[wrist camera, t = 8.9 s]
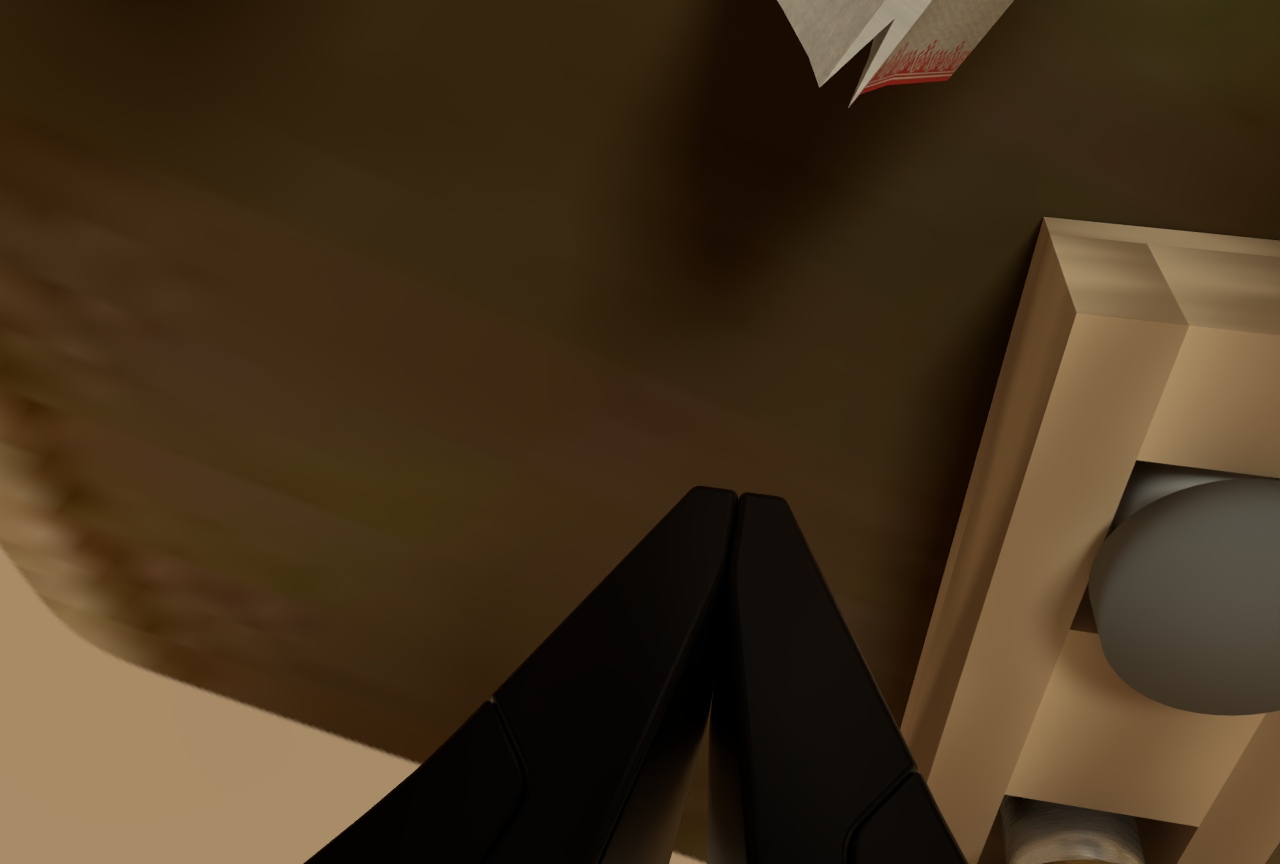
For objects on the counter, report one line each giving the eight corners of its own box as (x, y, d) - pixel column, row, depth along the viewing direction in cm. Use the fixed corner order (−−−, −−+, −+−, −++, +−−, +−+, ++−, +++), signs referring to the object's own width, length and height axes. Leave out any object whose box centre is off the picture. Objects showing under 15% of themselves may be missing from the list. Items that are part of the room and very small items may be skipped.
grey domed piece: (1356, 403, 20) (1455, 544, 17) (1261, 581, 23) (1330, 733, 20) (1101, 373, 21) (1147, 503, 17) (1039, 550, 24) (1068, 693, 20)
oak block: (1479, 260, 20) (1600, 371, 16) (1143, 861, 31) (1175, 994, 28) (1043, 217, 21) (1076, 313, 17) (876, 815, 32) (877, 938, 29)
